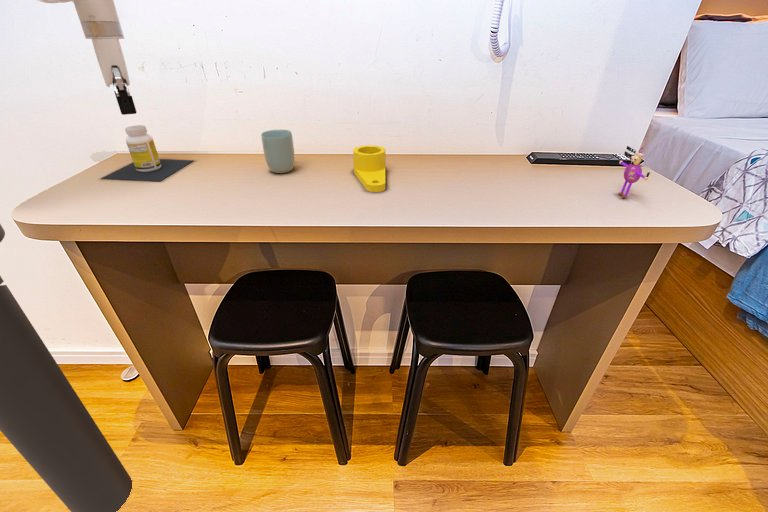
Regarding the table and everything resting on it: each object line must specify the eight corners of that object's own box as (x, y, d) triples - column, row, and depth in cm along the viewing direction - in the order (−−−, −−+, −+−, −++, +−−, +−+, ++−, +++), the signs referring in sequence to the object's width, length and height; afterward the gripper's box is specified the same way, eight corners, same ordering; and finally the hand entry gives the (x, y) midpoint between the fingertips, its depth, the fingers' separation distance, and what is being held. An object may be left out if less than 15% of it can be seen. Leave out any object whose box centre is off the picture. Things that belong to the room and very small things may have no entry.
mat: (101, 178, 99) (101, 178, 99) (141, 159, 112) (141, 158, 112) (160, 181, 97) (159, 180, 97) (193, 161, 111) (193, 160, 111)
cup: (294, 164, 108) (290, 128, 103) (298, 174, 102) (293, 136, 97) (266, 167, 106) (260, 130, 101) (268, 177, 100) (261, 138, 95)
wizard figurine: (605, 187, 95) (622, 138, 88) (618, 187, 95) (636, 138, 88) (630, 207, 85) (650, 153, 79) (644, 207, 85) (666, 153, 79)
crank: (352, 167, 106) (351, 146, 103) (382, 166, 107) (382, 144, 104) (359, 193, 91) (358, 168, 88) (394, 191, 92) (394, 166, 89)
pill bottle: (152, 163, 108) (139, 123, 102) (167, 167, 106) (154, 126, 100) (131, 170, 103) (116, 128, 98) (146, 174, 101) (131, 131, 95)
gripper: (83, 30, 92) (109, 106, 101) (82, 32, 79) (111, 118, 88) (120, 30, 95) (141, 103, 104) (124, 32, 83) (148, 115, 92)
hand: (128, 110), depth 96 cm, fingers open, 9 cm apart
